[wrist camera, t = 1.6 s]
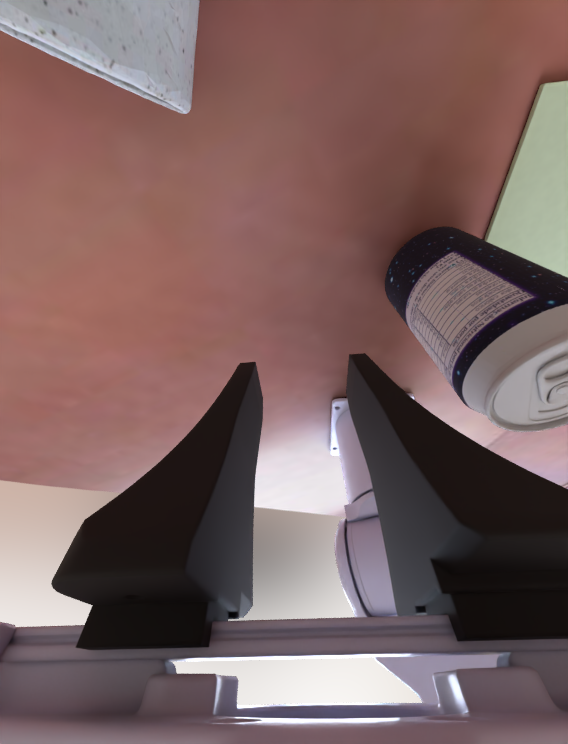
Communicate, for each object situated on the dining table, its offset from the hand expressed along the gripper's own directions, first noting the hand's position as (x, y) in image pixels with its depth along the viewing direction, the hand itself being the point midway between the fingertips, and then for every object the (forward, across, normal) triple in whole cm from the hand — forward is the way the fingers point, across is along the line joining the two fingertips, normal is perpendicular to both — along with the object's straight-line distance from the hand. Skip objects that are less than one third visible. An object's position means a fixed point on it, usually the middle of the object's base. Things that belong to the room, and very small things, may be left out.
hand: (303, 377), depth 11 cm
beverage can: (+11, -9, 0) cm, 14 cm away
